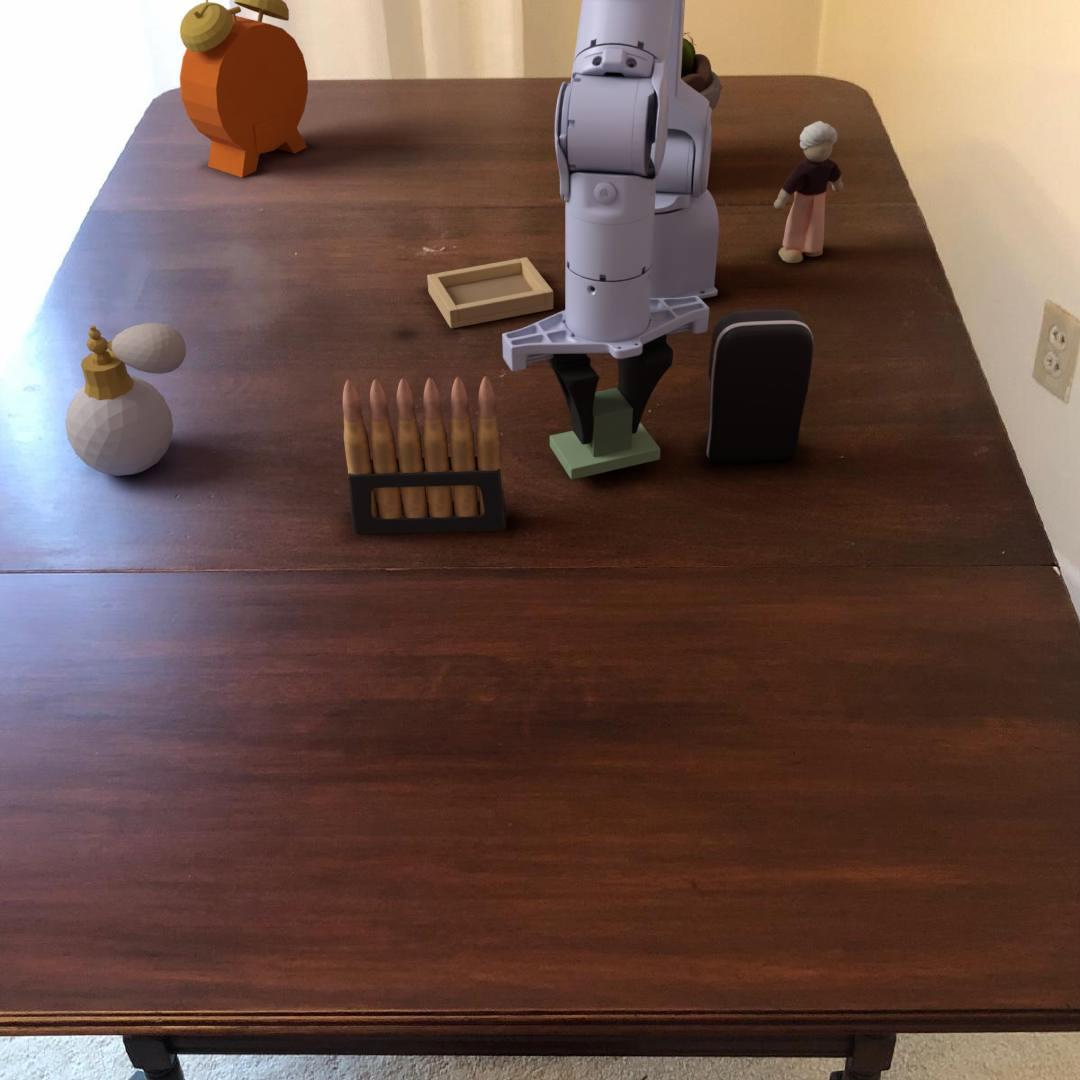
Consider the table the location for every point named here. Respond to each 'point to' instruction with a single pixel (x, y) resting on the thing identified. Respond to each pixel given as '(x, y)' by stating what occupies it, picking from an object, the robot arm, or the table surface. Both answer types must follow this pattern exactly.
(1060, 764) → the table surface
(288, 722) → the table surface
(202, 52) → the alarm clock
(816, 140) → the grandmother figurine
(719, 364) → the battery charger
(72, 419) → the perfume bottle
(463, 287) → the socket pad
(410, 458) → the ammunition clip
